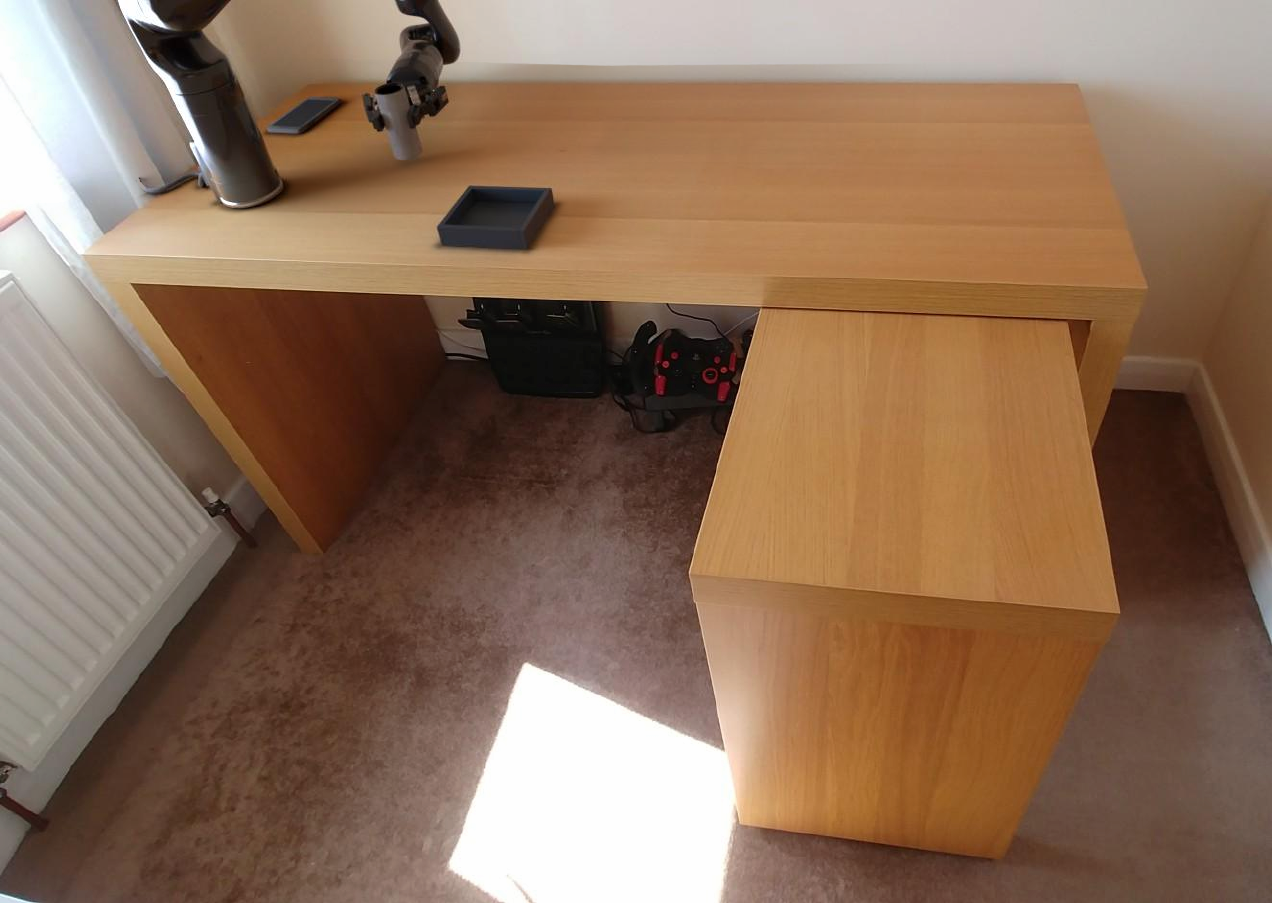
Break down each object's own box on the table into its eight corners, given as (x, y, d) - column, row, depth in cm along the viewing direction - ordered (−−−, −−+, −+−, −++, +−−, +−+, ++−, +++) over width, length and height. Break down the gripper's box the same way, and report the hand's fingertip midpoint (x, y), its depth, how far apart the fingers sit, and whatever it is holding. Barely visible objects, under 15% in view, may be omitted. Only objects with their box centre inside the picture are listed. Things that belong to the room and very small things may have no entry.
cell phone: (343, 101, 154) (342, 97, 153) (300, 134, 144) (298, 130, 144) (310, 100, 156) (309, 96, 155) (266, 132, 147) (264, 128, 146)
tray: (441, 245, 113) (436, 227, 111) (473, 203, 121) (469, 185, 119) (527, 249, 110) (523, 230, 108) (554, 206, 118) (551, 187, 116)
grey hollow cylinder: (428, 152, 131) (409, 86, 124) (403, 163, 129) (383, 97, 122) (413, 144, 134) (394, 79, 126) (389, 155, 132) (368, 89, 125)
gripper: (364, 61, 135) (339, 104, 123) (450, 52, 134) (433, 94, 122) (378, 107, 140) (356, 152, 128) (461, 98, 140) (446, 143, 128)
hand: (394, 123), depth 125 cm, fingers closed on grey hollow cylinder, 4 cm apart
